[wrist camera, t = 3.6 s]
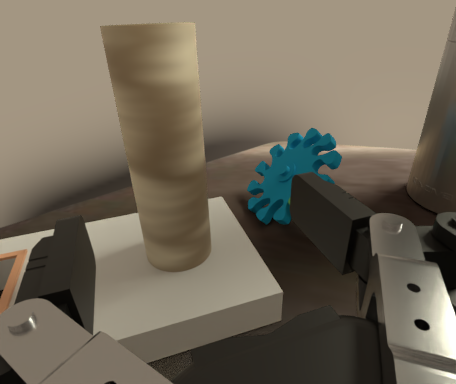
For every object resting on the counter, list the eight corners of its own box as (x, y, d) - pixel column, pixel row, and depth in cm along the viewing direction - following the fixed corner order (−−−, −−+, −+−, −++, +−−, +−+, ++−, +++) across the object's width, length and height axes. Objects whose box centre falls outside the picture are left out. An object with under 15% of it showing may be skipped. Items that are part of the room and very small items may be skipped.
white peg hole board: (223, 219, 30) (221, 194, 28) (281, 320, 20) (283, 289, 18) (-118, 292, 23) (-140, 264, 22) (-292, 502, 13) (-353, 473, 12)
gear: (235, 174, 34) (307, 108, 31) (270, 201, 37) (340, 143, 34) (255, 250, 26) (359, 169, 22) (299, 277, 29) (397, 209, 25)
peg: (202, 225, 25) (184, 22, 18) (219, 262, 21) (205, 22, 14) (143, 238, 24) (101, 25, 17) (150, 279, 20) (99, 27, 13)
